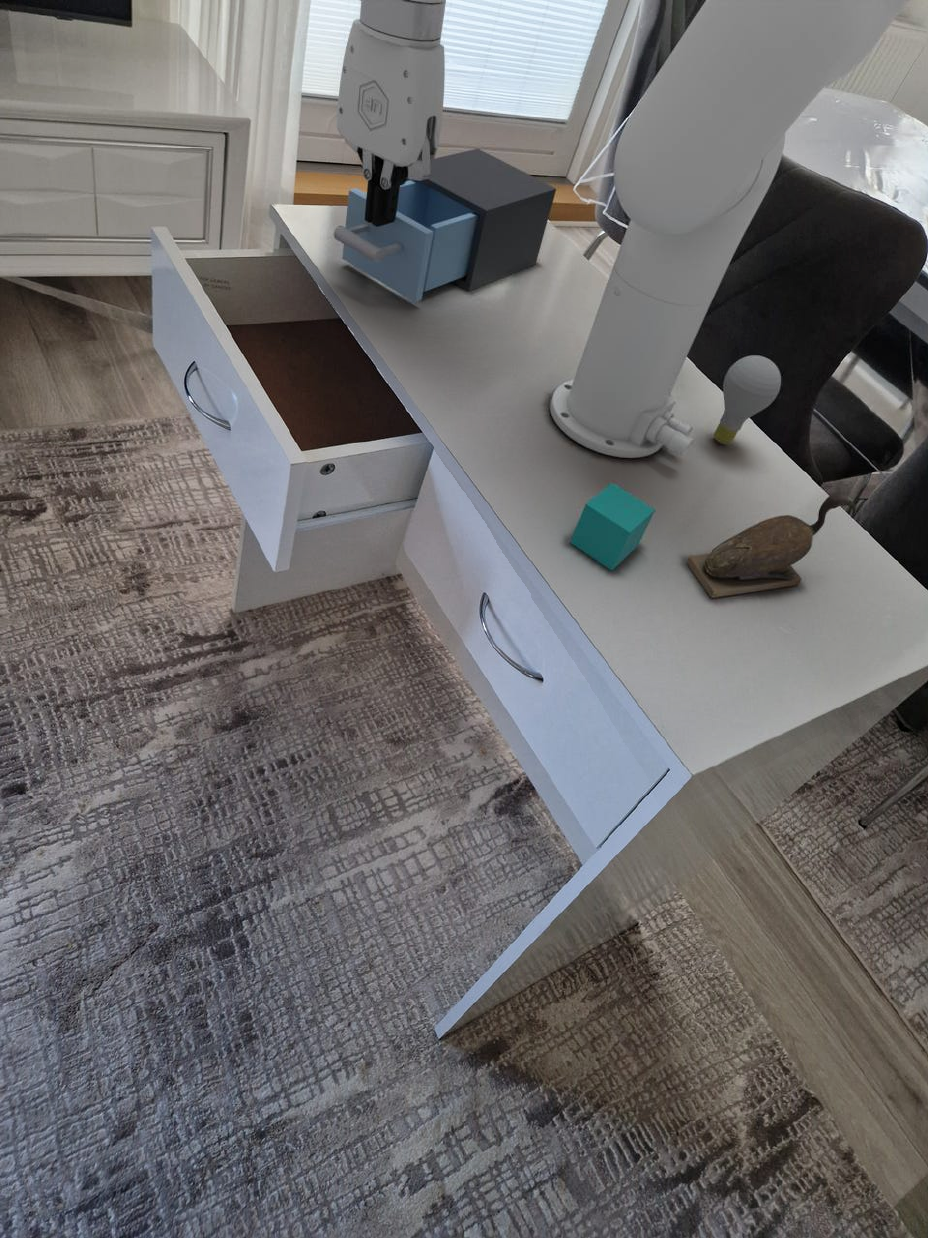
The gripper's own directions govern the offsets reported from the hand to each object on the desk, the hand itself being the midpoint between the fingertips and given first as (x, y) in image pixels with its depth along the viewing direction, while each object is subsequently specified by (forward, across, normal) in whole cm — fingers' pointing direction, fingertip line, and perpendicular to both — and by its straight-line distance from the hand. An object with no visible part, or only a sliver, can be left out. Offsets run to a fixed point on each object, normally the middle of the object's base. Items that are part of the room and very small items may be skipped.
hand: (379, 221), depth 87 cm
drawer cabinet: (+8, -1, +18) cm, 20 cm away
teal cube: (+9, +41, -14) cm, 45 cm away
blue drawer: (+7, -1, +6) cm, 9 cm away
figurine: (+10, +53, -5) cm, 54 cm away
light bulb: (+9, +41, +10) cm, 44 cm away
